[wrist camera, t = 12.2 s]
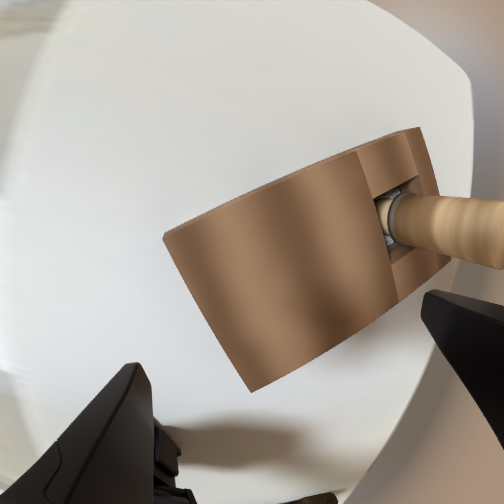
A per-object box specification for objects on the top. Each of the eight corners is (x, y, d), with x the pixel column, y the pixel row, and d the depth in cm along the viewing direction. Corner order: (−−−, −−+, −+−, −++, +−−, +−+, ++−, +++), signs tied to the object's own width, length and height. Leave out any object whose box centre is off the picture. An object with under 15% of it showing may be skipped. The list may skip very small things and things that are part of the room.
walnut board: (242, 372, 23) (251, 393, 20) (164, 232, 19) (162, 239, 16) (430, 254, 26) (451, 260, 23) (397, 131, 22) (419, 126, 20)
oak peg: (362, 239, 23) (485, 274, 11) (366, 189, 23) (494, 194, 11) (398, 240, 24) (511, 270, 13) (401, 194, 24) (518, 204, 12)
